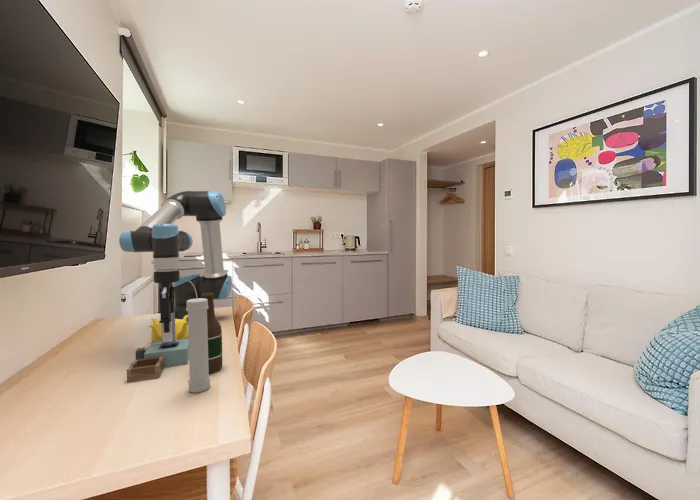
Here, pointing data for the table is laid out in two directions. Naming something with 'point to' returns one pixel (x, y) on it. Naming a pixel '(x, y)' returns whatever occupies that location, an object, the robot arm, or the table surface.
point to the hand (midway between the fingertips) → (168, 339)
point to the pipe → (198, 344)
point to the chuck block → (170, 352)
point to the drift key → (140, 353)
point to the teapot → (180, 329)
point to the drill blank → (173, 343)
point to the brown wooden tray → (145, 369)
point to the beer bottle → (213, 336)
